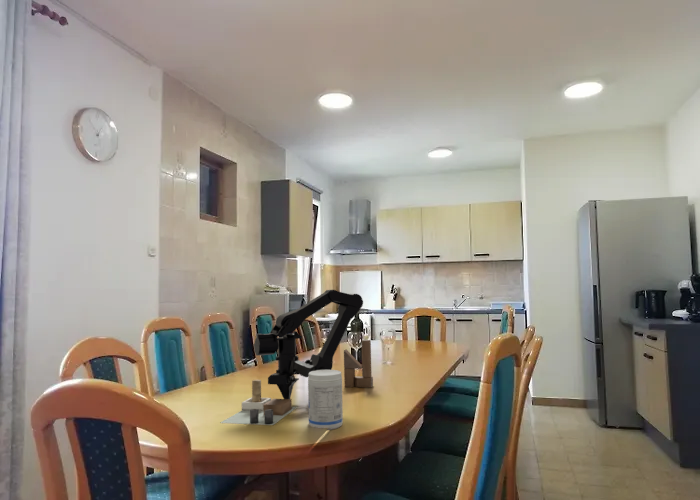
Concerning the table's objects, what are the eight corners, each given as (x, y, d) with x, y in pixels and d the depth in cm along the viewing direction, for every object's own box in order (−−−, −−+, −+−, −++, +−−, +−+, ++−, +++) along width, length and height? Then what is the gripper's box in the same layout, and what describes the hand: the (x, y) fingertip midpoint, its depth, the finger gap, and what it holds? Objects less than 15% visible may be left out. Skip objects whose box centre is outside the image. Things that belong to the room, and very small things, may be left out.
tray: (271, 405, 153) (271, 397, 154) (262, 411, 147) (262, 403, 147) (251, 405, 155) (251, 397, 155) (241, 410, 148) (241, 402, 148)
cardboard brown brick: (291, 408, 149) (291, 399, 149) (282, 415, 141) (282, 405, 141) (273, 408, 150) (273, 398, 150) (263, 414, 142) (263, 404, 143)
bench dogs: (274, 422, 134) (274, 409, 134) (271, 424, 132) (271, 411, 132) (252, 421, 135) (252, 408, 136) (248, 423, 133) (248, 410, 133)
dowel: (262, 405, 152) (262, 379, 153) (259, 407, 149) (258, 381, 150) (254, 405, 152) (254, 379, 153) (250, 407, 150) (250, 381, 151)
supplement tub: (309, 421, 137) (309, 369, 138) (342, 420, 137) (341, 368, 138) (307, 431, 127) (306, 375, 128) (343, 430, 127) (341, 374, 128)
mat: (297, 409, 151) (297, 406, 151) (272, 427, 131) (272, 424, 131) (251, 407, 155) (251, 405, 155) (219, 425, 134) (219, 422, 135)
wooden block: (346, 385, 189) (345, 339, 191) (373, 386, 186) (371, 339, 188) (344, 387, 185) (343, 340, 187) (371, 387, 183) (369, 340, 184)
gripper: (301, 357, 144) (302, 410, 143) (318, 349, 163) (319, 396, 161) (266, 357, 147) (267, 408, 145) (287, 349, 165) (288, 395, 164)
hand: (287, 402), depth 154 cm, fingers closed
